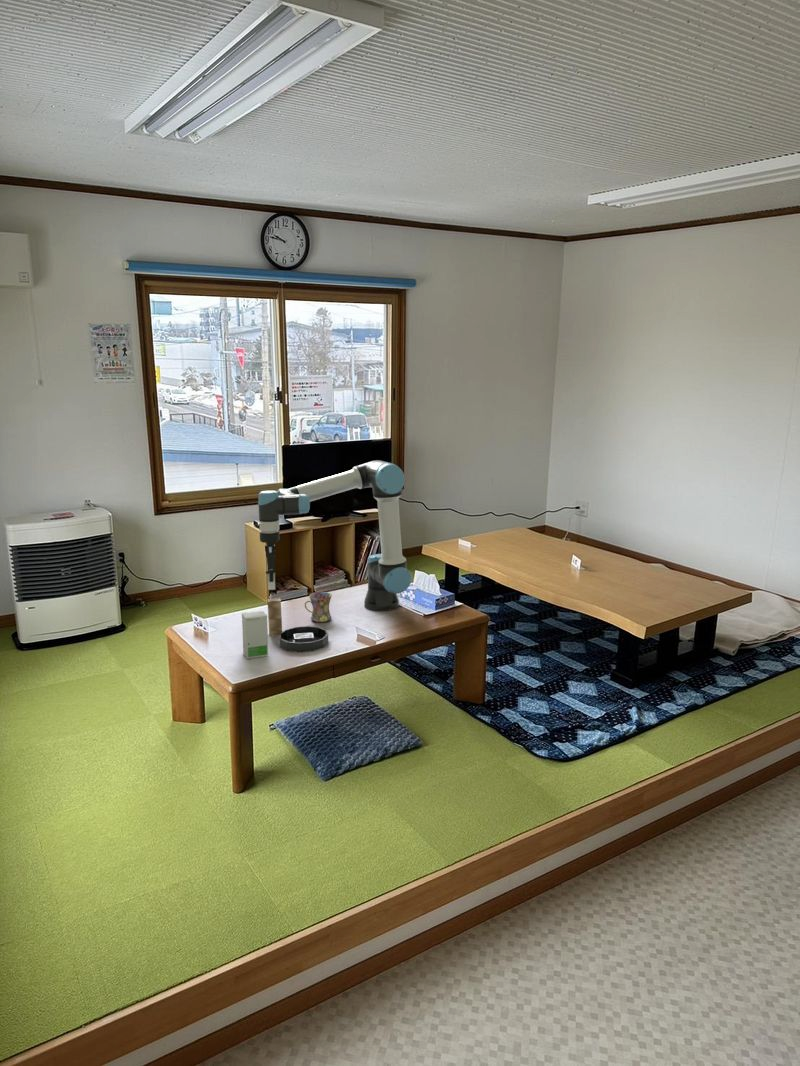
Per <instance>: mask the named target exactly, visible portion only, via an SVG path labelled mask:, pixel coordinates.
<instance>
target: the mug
mask: <svg viewBox="0 0 800 1066" xmlns="http://www.w3.org/2000/svg"><path fill="white" fill-rule="evenodd" d="M308 597H309V599H310V600H306V601H305V603H304V608H305V609H306V610H307V611H308V612H309V613H311V617H310V619H311V621H313V622H317V623H324V622H325V623H326V622H328V621H330V620H331V619H332V615H331V613H330V602H331V598H332V597H333V595H332V594H331V593H330V592H325V591H324V592H323V591H320V592H319V591H318V592H313V593H311V594H309V596H308ZM308 603H311V605H312V611H311V610H309V609H308V607H307V604H308Z"/></svg>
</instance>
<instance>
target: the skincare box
mask: <svg viewBox="0 0 800 1066" xmlns="http://www.w3.org/2000/svg"><path fill="white" fill-rule="evenodd" d="M241 624H242V625H241V627H242V628H241V629H242V653H243V655H244V657H246V659H247V660H250V659H256V658H262V657H269V635H268V634H269V628H268V614H266V612H265V611H263V610H261V611H260V610H259V611H251V612H242V613H241Z"/></svg>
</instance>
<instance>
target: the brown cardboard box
mask: <svg viewBox="0 0 800 1066" xmlns="http://www.w3.org/2000/svg"><path fill="white" fill-rule="evenodd" d="M282 618H283V617H282V600H281V598H269V599H268V598H267V621H268V634H269V635H268V637H272V636H279V634H280V633H281V632H283V619H282Z"/></svg>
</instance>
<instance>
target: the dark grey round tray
mask: <svg viewBox="0 0 800 1066" xmlns="http://www.w3.org/2000/svg"><path fill="white" fill-rule="evenodd" d="M301 633H313V636H314V641H313V642H304V643H296V642H294V641H293V640H294V634H301ZM278 643H279V648H281V649H282V650H283V651H284V650H285V651H286V652H291V653H292V652H293V653H308V652H309V653H311V652H314V651H315V652H316V651H319V650H321V649H324V648H325V647H326V646H327V645H329V634H328V630H327V629H324V628H322V627H320V626H311V625H302V626H295V627H290V628H287V629H284V630H282V632H281V633H280V634H279V635H278Z"/></svg>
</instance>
